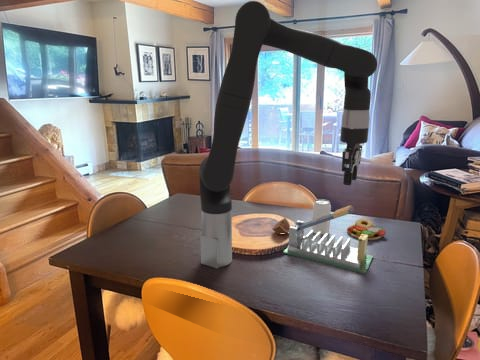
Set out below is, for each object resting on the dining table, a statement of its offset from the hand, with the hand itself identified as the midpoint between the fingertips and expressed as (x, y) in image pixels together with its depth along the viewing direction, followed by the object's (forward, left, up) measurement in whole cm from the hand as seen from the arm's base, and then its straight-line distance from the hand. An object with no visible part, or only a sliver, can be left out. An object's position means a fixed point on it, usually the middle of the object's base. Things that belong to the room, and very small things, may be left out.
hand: (349, 182), depth 106 cm
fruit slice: (+8, +25, -26) cm, 37 cm away
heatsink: (0, +5, -26) cm, 26 cm away
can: (+17, +13, -26) cm, 33 cm away
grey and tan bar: (0, +7, -15) cm, 16 cm away
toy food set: (+24, -2, -26) cm, 35 cm away
